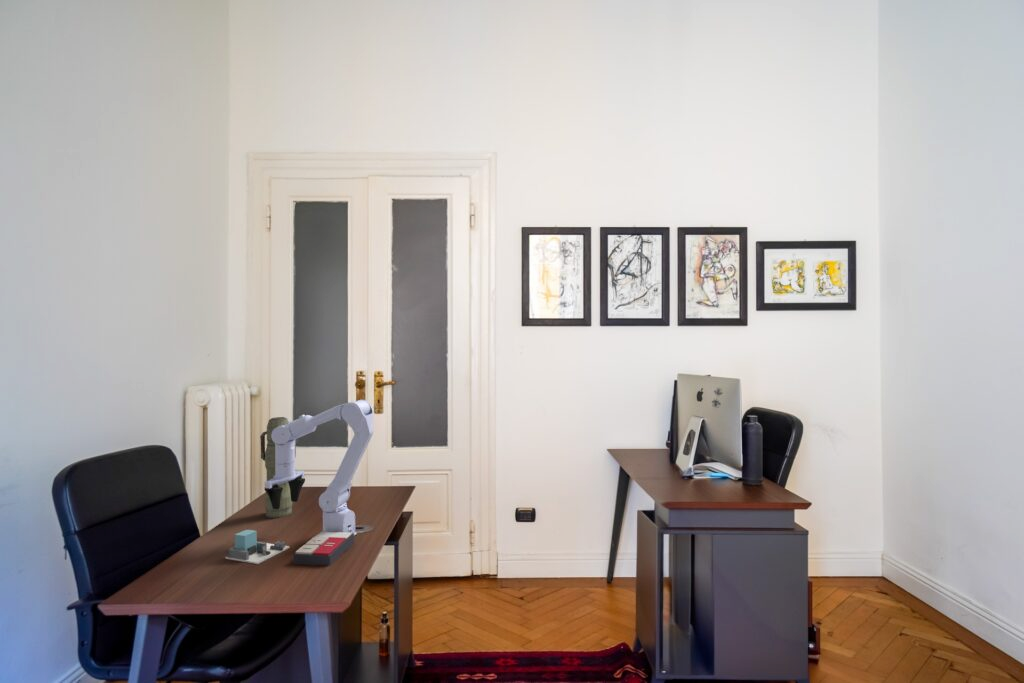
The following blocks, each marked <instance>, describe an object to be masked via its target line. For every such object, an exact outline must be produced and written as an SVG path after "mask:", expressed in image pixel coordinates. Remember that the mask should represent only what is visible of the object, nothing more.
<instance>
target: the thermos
mask: <svg viewBox="0 0 1024 683" xmlns="http://www.w3.org/2000/svg"><path fill="white" fill-rule="evenodd" d="M288 421H289V419H288V418H287V417H284V416H280V417H279V416H278V417H271V418H270V419H268V423H267V425H266V430H265V431H263V432H262V433H261V435H260V437H259V438H260V459H261V460H262V461H264V467H265V470H266V481H268V480H270V479H272V478H274V476H275V443H274V442H273V440H272V437H271V434H272V431H273V430H274V429H275V428H277V427H278V426H283V425H286V422H288ZM296 440H297V439H296ZM296 440H295V457H296V454H297V453H296V452H297V447H296V444H297V441H296ZM266 441H267V443H266ZM278 486H279V487H282V488H283V490H282V493H281V498H280V508H279V509H273V507H272V504H271V500H270V498H269V496H268V494H267V493H266V496H265V500H264V508H265V509H264V510H265V517H266V518H267V517H269V519H278V517H280V518H284V517H287V515H288V516H289V514H290V515H291V514H292V513H293V510H292V507H293V501H291V495H290V487H289V483H288V482H285V483H282V484H279V485H278Z"/></svg>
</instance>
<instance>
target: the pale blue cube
mask: <svg viewBox="0 0 1024 683" xmlns="http://www.w3.org/2000/svg"><path fill="white" fill-rule="evenodd" d="M257 538H258V533H257V530H252V529H245V530H242V531H240V532H237V533H234V546H235V549H238V550H244V551H249V555H251V554H253V553H255V552H257V540H258V539H257Z"/></svg>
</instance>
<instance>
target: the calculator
mask: <svg viewBox="0 0 1024 683" xmlns="http://www.w3.org/2000/svg"><path fill="white" fill-rule="evenodd" d="M354 545H355V535H354V533H349V532H323V531H320V532H319V533H317V534H316V535H315V536H313V537H312V538H311V539H310V540H308V541H307V542H305V544H303V545H302V546H301V547H299V548H298V549H297V550H295V552H294V553H293V554H292V560H293V563H292V564H293V565H294V564H295V565H310V566H311V565H313V566H331V565H332V564H333V563H334V562H336V561H337V560H338V559H339V558H340V557H341V556H343V554H344V553H346V551H347V550H349V549H351V548H352V547H353V546H354Z"/></svg>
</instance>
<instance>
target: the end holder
mask: <svg viewBox="0 0 1024 683" xmlns="http://www.w3.org/2000/svg"><path fill="white" fill-rule="evenodd" d="M267 543H268V542H264V541H257V550H262V546H265V548H266V550H267ZM226 554H227V556H226V557H230V558H236V559H242V560H248V559H249V551H244V550H238V549H235V545H234V546H232V547H230V548H227V553H226Z"/></svg>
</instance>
